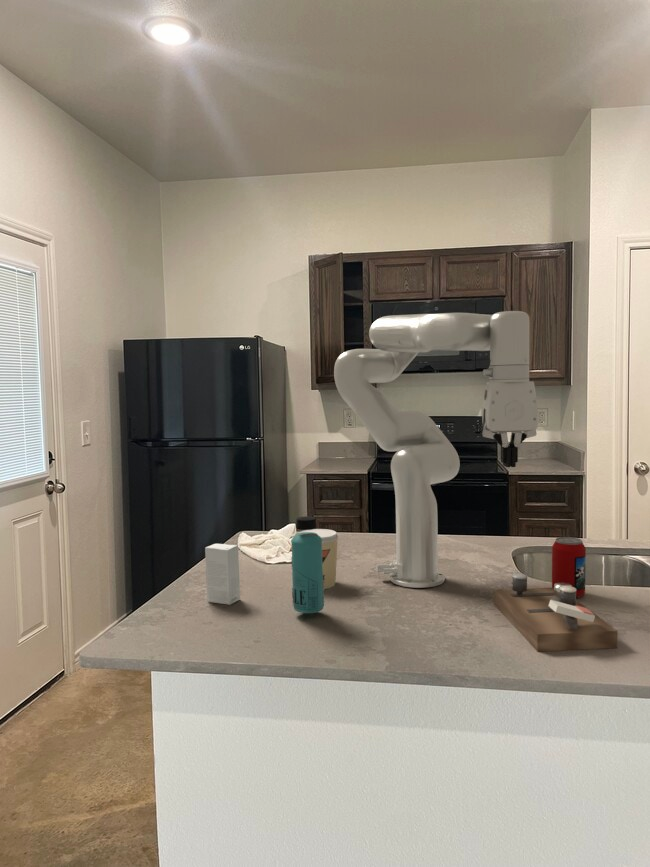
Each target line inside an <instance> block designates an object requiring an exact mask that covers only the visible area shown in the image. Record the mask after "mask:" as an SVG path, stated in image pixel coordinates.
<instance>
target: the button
mask: <svg viewBox="0 0 650 867" xmlns="http://www.w3.org/2000/svg"><path fill="white" fill-rule="evenodd" d="M562 586H571V587H572V585H571V584H568V583H555V584H554V595H555V596H557V597H560V587H562Z"/></svg>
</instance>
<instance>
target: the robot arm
mask: <svg viewBox="0 0 650 867" xmlns="http://www.w3.org/2000/svg"><path fill="white" fill-rule="evenodd" d="M368 336H369V341H370V343H371V344H372V345H373V346H374V347H375V348H355V349H350V350H346V351H344V352H343V353H341V354H340V355H339V356H337V359H336V360H335V363H334V367H333V369H334V370H333V378H334V382H335V386H336V389H337V391H338V394H339V395H340V396H341V398H342V399H343V401H344V402H345V403H346V404H347V406H349V408H350V409H351V410H352V411H353V413H355V415H356V416H357V417H358V419H359V420H360V421H361V423H362V425H363V427H364V428H365V429H366V430H367V431H368V433H369V435H370V436H371V437H372V438H373V440H374V441H375V443H376V444H377V445H378V446H379V447H380V449H382V450H383V451H386V452H395V453H394V454H393V455H392V458H391V460H390V472H391V477H392V478H391V479H392V482H393V488H394V495H395V496H394V497H395V533H396V534H395V540H396V542H395V543H396V545H395V546H396V547H395V548H396V554H395V555H396V558H393V561H390V562H389V563H376V565H375V566H376V567H375V568H376V573H382V574H383V575H387V574H388V575H389V574H390V575H389V580H390V581H391V582H392V583H393V584H395V585H397V586H400V587H405V588H411V589H412V588H414V589H415V588H416V589H421V588H422V589H424V588H425V589H426V588H433V587H438V586H441V585H442V584H443V583H444V582H445V574H444V573H443V572H441V571H439V569H438V568H439V566H438V565H439V555H438V554H439V553H438V552H439V551H438V550H439V548H438V542H439V540H438V538H439V537H438V535H439V534H438V532H439V531H438V529H439V528H438V526H439V525H438V502H437V499H436V496H435V493H434V491H433V489H432V486H431V485H436V484H440V483H445V482H448V481H451V480H452V479H454V478H455V477H456V476H457V475H458V473H459V471H460V466H461V465H460V462H461V460H460V457H459V455H458V451H457V450H456V448H455V447H454V446H453V444H452V443H451V441H450V440H449V439H448V438H447V436H446V435H445V434H444V433H443V431H442V430H441V428H439V426H438V425H437V424H436V423H435V421H434V420H433V419H432V418H431V417H430V416H429V415H427V414H426V413H425V412H422V411H419V410H399V409H398V408H396V407H395V406H394V405H393V403H392V402H391V401H390V400H389V399H388V397H387V396H386V395H385V393H383V392H382V391H381V390H380V389H378V388H377V387H375V386H373V385H372V384H381V383H383V384H384V383H390V382H392V381H394V380H396V379H397V378H398V377H399V376H400V375H401V374H402V373H403V372H404V370H405V369H406V368H407V367H408V366H409V365H410V363H412V361H413V360H414V359H415V358H416V356H417V355H418V354H419V353H429V352H430V351H431V352H432V351H459V352H461V351H473V352H474V351H475V352H477V351H478V352H488V351H489V366H488V368H486V369H483V370H482V376H483V377H488V379H489V381H487V382H486V384H485V388H484V389H485V390H484V395H483V403H482V404H483V405H482V419H481V420H482V434H481V435H482V437H483V438H487V439H492V440H494V441H495V442H496V443H497V444H498V446H500V462H501V463H502V466H503V467H505V468H516V466H517V463H518V462H519V460H518V459H519V449H518V448H519V447H520V446H521V444H522V443H523V442H524V441H525V440H526V439H530V438H533V437H536V436H537V429H538V427H539V415H538V414H539V413H538V412H539V411H538V409H539V408H538V399H537V394H536V386H535V382H534V381H533V380H532V381H530V316H529V314H528V313H527V312H524V311H521V310H507V311H499V312H495V313H493V314H485V313H482V314H481V313H473V312H471V313H470V312H443V313H441V312H440V313H417V314H398V315H397V314H395V315H385V316H382V317H381V316H380V317H379V318H377V319H376V320H375V321H374V322H373V323H372V324H371V325H370V328H369V332H368ZM508 433H510V440H509V437H508Z"/></svg>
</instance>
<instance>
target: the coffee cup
mask: <svg viewBox="0 0 650 867" xmlns="http://www.w3.org/2000/svg"><path fill="white" fill-rule="evenodd" d="M302 532H313V533H316V534H318V535H319V536H320V537H321V538H322V565H323V578H324V579H323V581H324V584H323V590H327V589H331V588H332V587H335V586H336V579H337V578H336V577H337V559H338V556H337V555H338V539H339V535H338V533H337V531H335V530H333V529H327V528H326V529H325V528H316V529H312V530H301V531H300V532H299V533H302Z"/></svg>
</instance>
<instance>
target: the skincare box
mask: <svg viewBox="0 0 650 867" xmlns="http://www.w3.org/2000/svg"><path fill="white" fill-rule="evenodd" d="M204 553H205V554H204V557H205V575H206V579H205V580H206V599H207V600H206V602H207V603H212V604H213V603H215V604H222V605H229V606H231V605H233V604H234V603H236V602H237V601H240V599H241V588H240V587H241V586H240V583H241V582H240V563H239V562H240V560H239V558H240V556H239V545H238V544H237V545H236V544H224V543H213V544H211V545H208V546H206V547H204Z"/></svg>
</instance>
